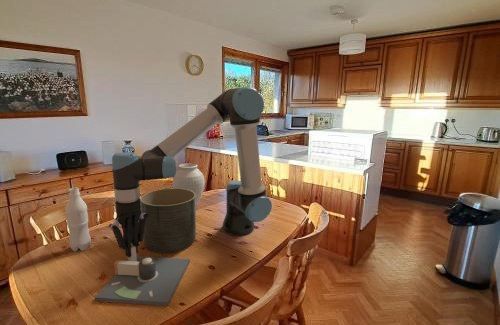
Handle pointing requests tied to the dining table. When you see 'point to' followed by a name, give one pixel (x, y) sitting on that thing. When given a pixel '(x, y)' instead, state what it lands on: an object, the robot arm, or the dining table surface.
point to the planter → (169, 219)
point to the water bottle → (77, 221)
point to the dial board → (146, 284)
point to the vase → (189, 179)
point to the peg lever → (136, 268)
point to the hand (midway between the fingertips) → (132, 263)
